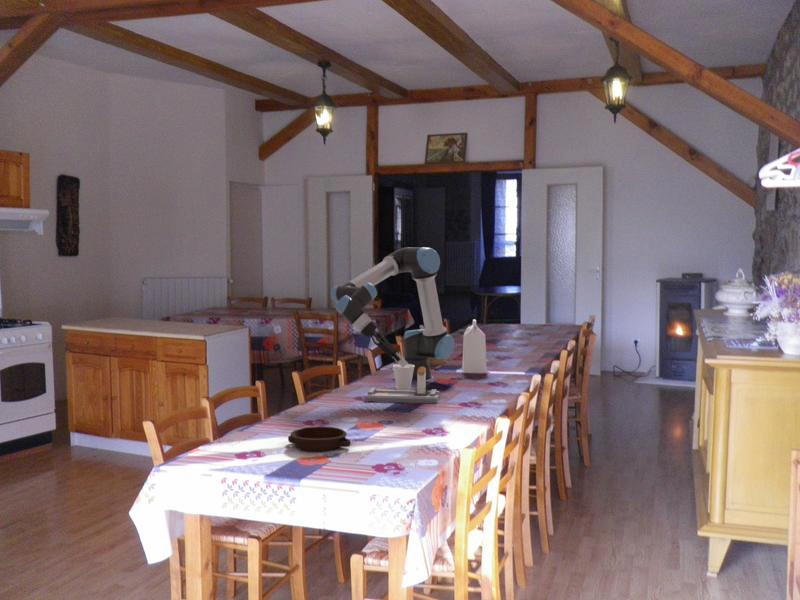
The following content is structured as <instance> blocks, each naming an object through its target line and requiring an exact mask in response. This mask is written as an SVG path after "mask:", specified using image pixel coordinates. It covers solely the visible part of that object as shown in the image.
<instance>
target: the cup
mask: <svg viewBox="0 0 800 600" xmlns="http://www.w3.org/2000/svg"><path fill="white" fill-rule="evenodd" d="M414 367H415V366H414V365H412V364H407V365H406V366H405V367H404V368H402V367H401V366H400V365H399V364H398V363H396V364H393V365H392V368H393V375H394V380H395V386H396V390H411V389H412V381H413V379H412V377H413V371H414Z"/></svg>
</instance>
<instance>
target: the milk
mask: <svg viewBox="0 0 800 600" xmlns="http://www.w3.org/2000/svg"><path fill="white" fill-rule="evenodd" d="M486 340H487V339H486V334H485V333H484V331H482V330H481V329H480V327H478V326H477V320H476V319H472V325H469V326H467V328H465V331H464V333H463V340H462V341H463V342H462V343H463V344H462V362H461V363H462V372H463V374H487V373H488V371H487V343H486Z"/></svg>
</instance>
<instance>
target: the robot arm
mask: <svg viewBox="0 0 800 600" xmlns="http://www.w3.org/2000/svg"><path fill="white" fill-rule="evenodd" d="M440 266H441V258H440V255H439V254H438V252H437V251H436V250H435V249H434V248H431V247H426V246H422V247H417V246H415V247H410V246H407V247H406V246H405V247H402V248H400V249H397V250H395V251H394V252H392V253H389V254H388V255H386V256H385V257H384V258H383V259H382V261H381V262H379V263H378V264H376V265H374V266H372V267H371V268H369V269H367V270H366V271H364V272H363V273H361V274H359V275H358V276H356V277H355V278H353V279H352V280H350V281H348V282H346V283H345V284H343V285H335V286H334V287H332V288H331V290H330V298H331V300H332V301H333V302H335V305H334V307H335V310H336V311H337V312H338V313H339V314H340V315H341V316H342V317H343V318H344V319H345V320H346V321H347V322H348V323H349V324H350V325H351V326H352V327H353V328H354V330H356V331H357V332H359V333H360V335H361V336H362V337H363V338H365V339H368V337H370V339H371V341H372V342H373V344H375V345H376V346H377V347H378V348H380V350H382V351H383V352H384V353H385V354H386V355H387V356H388V357H389V359H391V358H392V359H393V360H394V361H395V362H397V363H396V364H399V365H400V366H401V367H402V368H404V367H405V366H406V365H407V364H412V365H414V366H415V367H414V371H413V377H412V380H417V370H418V369H419V367H422V366H423V367H425V369H426V379H429V378H432V370H431V367H430V366H431V365H429V363H428V357H431V358H437V359H445V360H447V359H448V358H449V357H451V355H452V354H453V351H454V349H455V339H454V336H452V335H450V334H448V333H449V332H448V329H447V327H445V326H444V324H443V318H442V312H441V307H440V301H439V295H438V291H437V284H436V279H435V278H436V276H437V275H438V271H439V269H440ZM401 273H410V274H411V279H412V280H414V281H415V282H416V287H417V292H418V298H419V303H420V308H421V309H420V310H421V315H422V318H423V319H422V320H424V321H423V325H424V328H421V329H412V330H406V331H405V332H404V336H403V355H404V357H403V356H401V355H400V353H398V351H399V350H398V349H396V348H395V347H394V346H393V345H392V344H391V343H390V342H389V340H388V339H387V338H386V337H385V336H384V334H383V333H381V332H380V331H377V329H378V327H379V326H378V324H377V323H376V322H375V321H374V320H371V317H369V313H366V312H365V311H364V308H366V307H367V306H368V305H369V304H370V303H371V302H372V301H373V300H374V299H375V298H376V297H377V295H378V291H377V288H376V285H378V284H379V283H381V282H383V281H384V280H386V279H387V278H390V277H391V276H396V275H398V274H401Z"/></svg>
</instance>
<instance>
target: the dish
mask: <svg viewBox="0 0 800 600" xmlns="http://www.w3.org/2000/svg"><path fill="white" fill-rule="evenodd" d="M347 435H348V434H347V432H346V430H344V429H342V428H339V427H332V426H307V427H302V428H299V429H295V430H293V431H291V433H290V435H288V436H287V440H288V443H290V444H293V445H295V446H296V448H297V449H299V450H301V451H305V452H314V453H316V452H326V451H331V450H335V449H337V448H338V449H339V448H340V447H344V448H346V447H350V446H351V443H352V442H351V440H350V439H348V438H346V437H347Z"/></svg>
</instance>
